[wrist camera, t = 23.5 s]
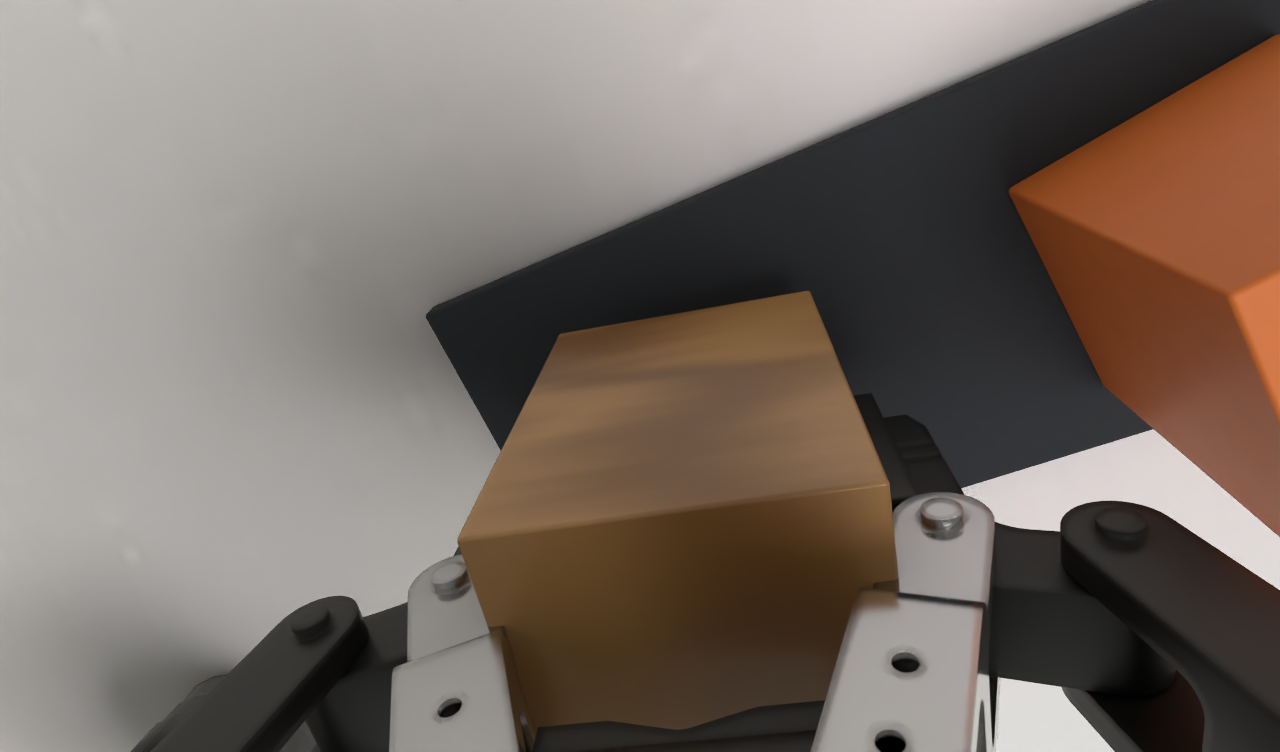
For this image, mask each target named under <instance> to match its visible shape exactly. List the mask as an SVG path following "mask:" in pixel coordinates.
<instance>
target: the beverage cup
mask: <svg viewBox="0 0 1280 752" xmlns="http://www.w3.org/2000/svg"><path fill="white" fill-rule="evenodd" d="M226 676H227V675H226ZM226 676H219V677H213V678H211V679H209V680H207V681H205V682H203V683H201V684H199V685H197V686H196V687H195V688H194V689H193V691H192V692H191V693H190V694H189V696H188V697H187V698H186V699H185V701H184V702H182V703H181V704H179V705H178V706H177V707H176V708H175V709H174V710H173V711H172V712H171V713H170V714H169V715H168V716H167V717H166V718H165V719H164V720H163V721H162V722H160V723H158V724H156V726H155V727H154V728H153V729H152V730H151V731H150V732H149V733H148V734H147V735H146V736H145V737H144V738H143V739H142V740H141V741H140V742H139V743H138V745H137V746H136V747H135V748H134V749H133V750H132V751H131V752H150V751H151V750H152V749H153V748H154V747H155V746H156V745H157V744H158V743H159V742H160V741H161V740H163V739H164V738H165V737H166V736H167V735H168V734H169V733H170V732H171V731H172V730H173V729H174V728H175V727H176V726H177V725H178V724H179V723H180V722H181V721H182V720H183V719H184V718H185V717H186V716H187V715H188V714H189V713H190V712H191V711H192V710H193V709H194V708H195V707H196V706H197V705H198V704H199V703H200V702H201V701H202V700H203V699H204V698H205V697H206V696H207V695H208V694H209V693H210V692H211V691H212V690H213V689H214V688H215V687H216V686H217V685H218V684H219V683H220V682H221V681H222V680H223V679H224V678H225V677H226ZM316 744H317V743H316V741H315V739H314V737H313V735H312V733H311V731H310V729H309V727H308V726H307V724H306V722H305V721H304V723H303V724H302V725H301V726H300V727H299V729H298V730H297V731H296V732H295V733H294V735H293V736H292V737H291V738H290V739H289V741H288V742H287V743H286V744H285V745H284V747H283V748H282V749H281V750H280V751H279V752H311V751H312V749H313V748H314V747H315V746H316Z"/></svg>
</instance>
